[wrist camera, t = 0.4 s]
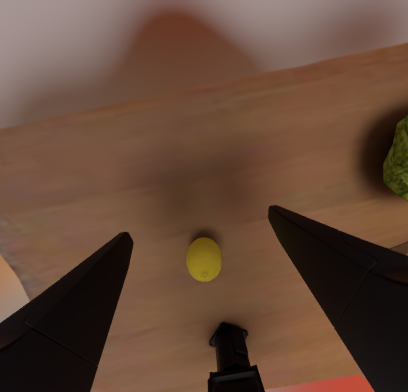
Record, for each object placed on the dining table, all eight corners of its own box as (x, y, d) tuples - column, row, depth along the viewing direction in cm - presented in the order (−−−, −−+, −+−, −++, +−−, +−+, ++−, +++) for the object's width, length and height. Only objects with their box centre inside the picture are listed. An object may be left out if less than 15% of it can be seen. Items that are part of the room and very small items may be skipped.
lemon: (208, 224, 26) (212, 251, 18) (223, 247, 27) (233, 282, 19) (182, 238, 27) (175, 271, 19) (198, 261, 28) (197, 300, 20)
